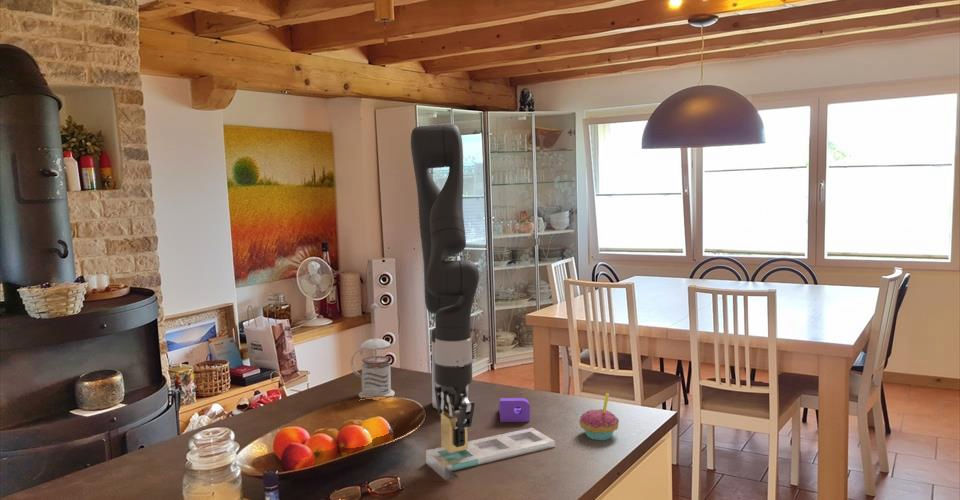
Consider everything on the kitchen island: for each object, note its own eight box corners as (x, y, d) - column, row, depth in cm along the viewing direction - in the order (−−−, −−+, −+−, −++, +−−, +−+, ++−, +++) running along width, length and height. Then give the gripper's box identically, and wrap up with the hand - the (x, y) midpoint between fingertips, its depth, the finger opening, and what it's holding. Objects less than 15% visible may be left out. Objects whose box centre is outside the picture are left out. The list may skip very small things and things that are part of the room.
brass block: (441, 446, 142) (440, 413, 141) (458, 442, 144) (458, 409, 143) (449, 452, 138) (449, 418, 138) (467, 449, 140) (467, 415, 139)
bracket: (529, 429, 163) (529, 400, 162) (500, 429, 163) (500, 401, 162) (525, 411, 175) (525, 385, 174) (498, 411, 175) (498, 385, 174)
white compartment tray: (426, 463, 143) (425, 450, 143) (532, 439, 156) (532, 427, 155) (445, 480, 135) (444, 466, 135) (555, 453, 148) (555, 441, 147)
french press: (392, 399, 184) (390, 307, 181) (348, 400, 184) (345, 307, 181) (397, 388, 193) (395, 300, 191) (355, 388, 194) (353, 300, 191)
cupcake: (620, 437, 156) (621, 385, 155) (615, 451, 148) (616, 397, 147) (582, 432, 159) (583, 382, 158) (575, 446, 151) (575, 393, 150)
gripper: (421, 354, 144) (423, 434, 145) (452, 370, 131) (453, 458, 133) (454, 349, 147) (455, 427, 149) (486, 365, 135) (487, 450, 136)
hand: (454, 441), depth 141 cm, fingers closed on brass block, 4 cm apart
